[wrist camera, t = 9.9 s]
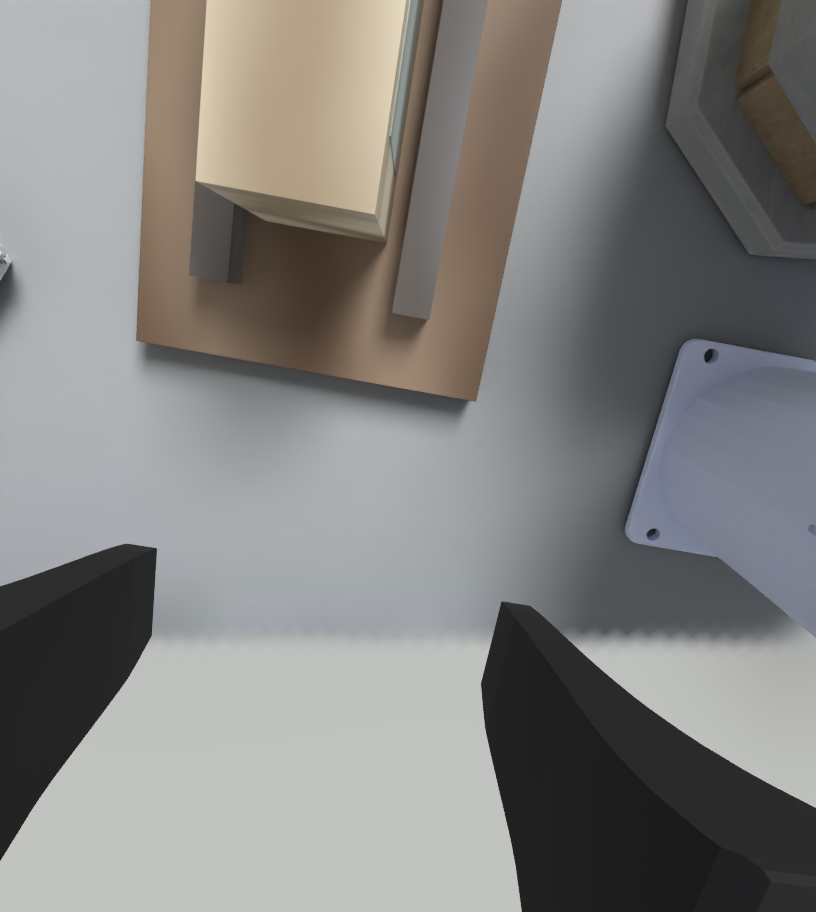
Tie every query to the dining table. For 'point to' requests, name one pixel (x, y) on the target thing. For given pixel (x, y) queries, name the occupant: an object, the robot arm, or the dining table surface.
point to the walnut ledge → (342, 257)
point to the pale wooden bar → (307, 109)
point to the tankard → (752, 117)
